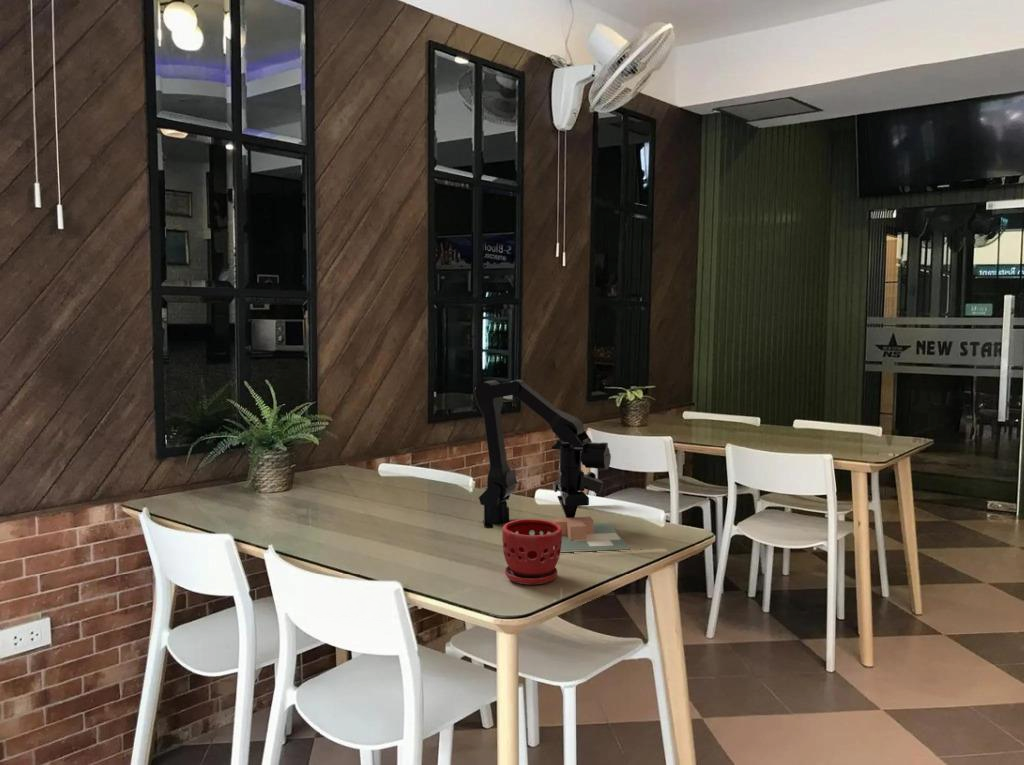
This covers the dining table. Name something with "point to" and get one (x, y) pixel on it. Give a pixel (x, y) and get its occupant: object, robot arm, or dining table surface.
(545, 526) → the plant pot
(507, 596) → the dining table surface
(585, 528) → the salmon notched block
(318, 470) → the dining table surface
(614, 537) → the board
